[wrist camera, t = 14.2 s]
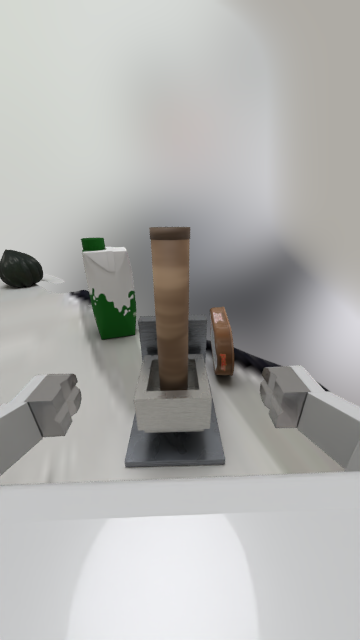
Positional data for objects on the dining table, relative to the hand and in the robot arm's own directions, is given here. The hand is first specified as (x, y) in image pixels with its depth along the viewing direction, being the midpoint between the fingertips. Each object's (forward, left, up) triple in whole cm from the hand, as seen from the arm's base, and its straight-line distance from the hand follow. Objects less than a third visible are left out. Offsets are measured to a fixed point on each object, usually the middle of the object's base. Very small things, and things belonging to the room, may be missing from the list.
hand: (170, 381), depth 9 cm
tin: (+24, +8, -16) cm, 30 cm away
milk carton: (+22, +32, -16) cm, 42 cm away
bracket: (+10, +7, -16) cm, 20 cm away
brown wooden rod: (+8, +6, -12) cm, 16 cm away
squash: (+28, +98, -16) cm, 103 cm away
